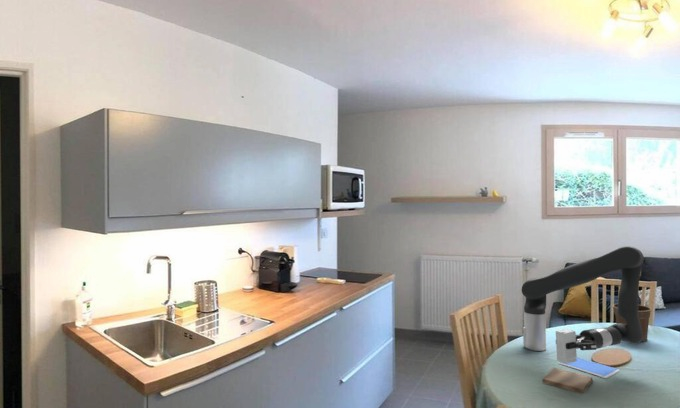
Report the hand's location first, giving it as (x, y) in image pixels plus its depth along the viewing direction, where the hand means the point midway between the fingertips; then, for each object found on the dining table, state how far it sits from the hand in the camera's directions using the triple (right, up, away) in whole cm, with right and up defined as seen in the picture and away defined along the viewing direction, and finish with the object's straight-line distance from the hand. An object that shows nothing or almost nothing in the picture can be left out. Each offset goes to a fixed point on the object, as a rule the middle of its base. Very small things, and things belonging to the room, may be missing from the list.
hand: (561, 344), depth 159 cm
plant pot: (+62, -13, +47) cm, 79 cm away
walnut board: (+3, -15, +1) cm, 15 cm away
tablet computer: (+19, -15, +14) cm, 28 cm away
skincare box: (+2, -7, +1) cm, 8 cm away
